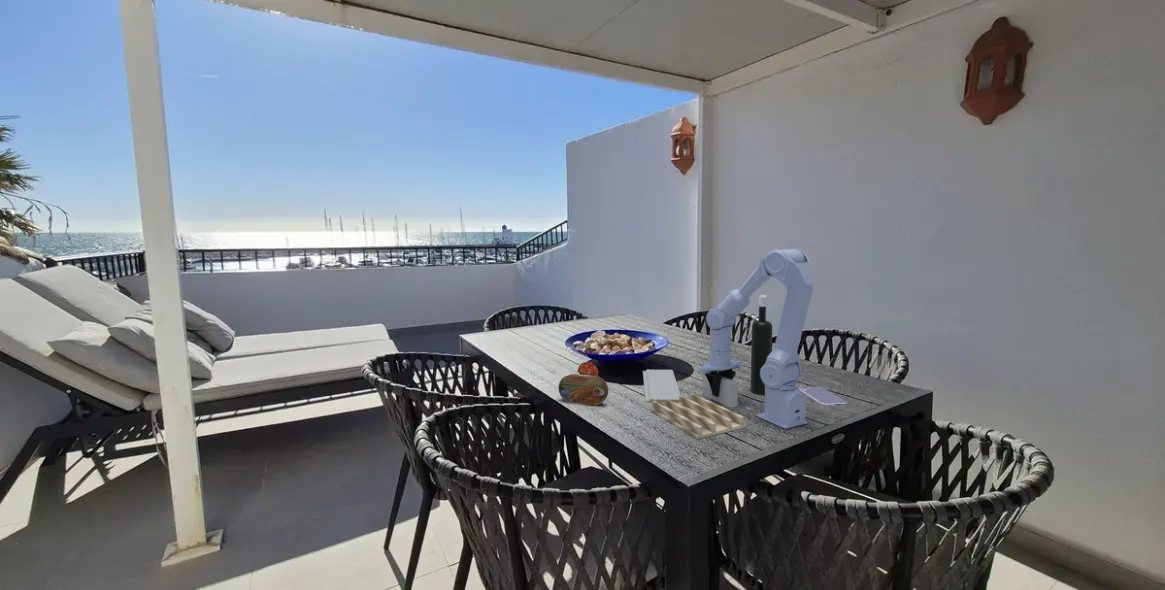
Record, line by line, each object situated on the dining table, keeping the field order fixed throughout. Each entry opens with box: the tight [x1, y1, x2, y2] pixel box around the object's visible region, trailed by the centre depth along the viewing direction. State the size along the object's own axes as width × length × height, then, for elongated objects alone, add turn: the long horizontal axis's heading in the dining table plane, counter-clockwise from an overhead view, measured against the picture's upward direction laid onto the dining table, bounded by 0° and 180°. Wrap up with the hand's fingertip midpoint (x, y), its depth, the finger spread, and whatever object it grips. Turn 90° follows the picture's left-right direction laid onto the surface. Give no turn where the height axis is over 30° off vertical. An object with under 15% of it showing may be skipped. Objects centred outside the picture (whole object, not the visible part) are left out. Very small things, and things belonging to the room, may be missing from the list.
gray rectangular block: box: [702, 375, 739, 409], centre depth 132 cm, size 12×2×7 cm, turn 24°
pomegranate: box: [577, 361, 599, 377], centre depth 152 cm, size 7×7×10 cm
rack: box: [650, 393, 747, 440], centre depth 119 cm, size 20×15×3 cm
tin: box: [558, 373, 609, 407], centre depth 132 cm, size 15×3×8 cm, turn 68°
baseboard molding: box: [640, 365, 682, 404], centre depth 147 cm, size 31×3×12 cm
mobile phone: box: [797, 386, 848, 406], centre depth 134 cm, size 8×1×15 cm
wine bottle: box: [749, 294, 773, 396], centre depth 137 cm, size 6×6×30 cm
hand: (719, 395), depth 132 cm, fingers closed on gray rectangular block, 2 cm apart
